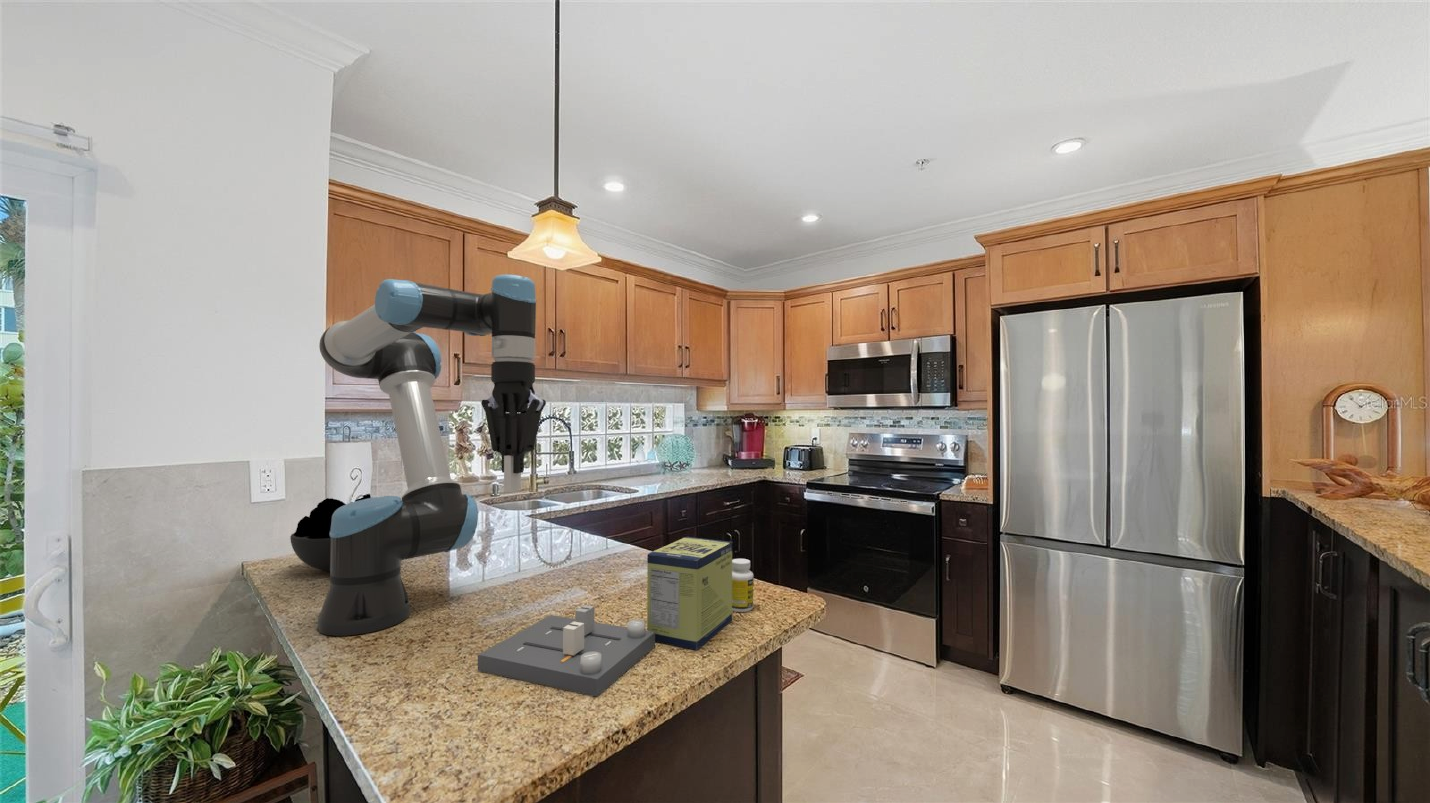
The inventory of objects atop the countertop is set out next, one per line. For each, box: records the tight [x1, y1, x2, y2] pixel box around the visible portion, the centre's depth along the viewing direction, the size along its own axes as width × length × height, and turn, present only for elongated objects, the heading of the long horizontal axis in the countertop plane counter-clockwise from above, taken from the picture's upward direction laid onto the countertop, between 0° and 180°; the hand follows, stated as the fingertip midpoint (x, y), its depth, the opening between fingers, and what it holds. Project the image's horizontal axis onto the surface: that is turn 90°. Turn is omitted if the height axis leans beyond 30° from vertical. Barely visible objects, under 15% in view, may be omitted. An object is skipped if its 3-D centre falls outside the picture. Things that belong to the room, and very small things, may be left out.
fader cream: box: [563, 622, 584, 656], centre depth 87 cm, size 2×3×4 cm
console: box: [477, 614, 656, 698], centre depth 90 cm, size 22×18×5 cm
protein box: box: [646, 536, 733, 651], centre depth 102 cm, size 10×16×16 cm
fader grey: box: [574, 604, 595, 636], centre depth 94 cm, size 2×3×4 cm
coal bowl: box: [289, 493, 372, 572], centre depth 141 cm, size 20×20×19 cm
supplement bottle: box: [732, 558, 754, 613], centre depth 113 cm, size 5×5×10 cm
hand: (512, 490), depth 99 cm, fingers closed
